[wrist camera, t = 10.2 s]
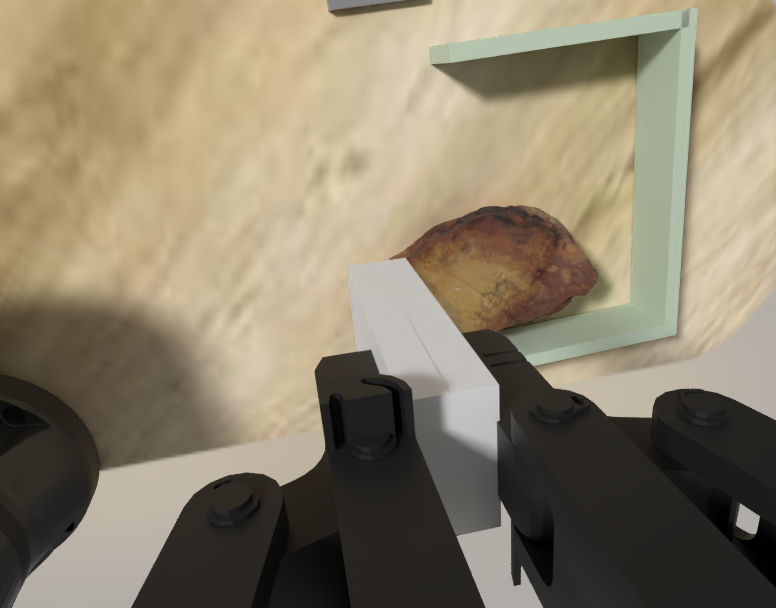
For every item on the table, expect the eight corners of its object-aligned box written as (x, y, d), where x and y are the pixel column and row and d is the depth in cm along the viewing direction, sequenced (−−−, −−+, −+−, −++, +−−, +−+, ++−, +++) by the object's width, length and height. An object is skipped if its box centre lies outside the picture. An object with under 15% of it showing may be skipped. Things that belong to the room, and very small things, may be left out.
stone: (405, 364, 45) (421, 398, 41) (348, 267, 42) (359, 291, 37) (573, 269, 45) (609, 292, 41) (531, 164, 42) (565, 174, 37)
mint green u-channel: (459, 350, 46) (477, 378, 42) (428, 47, 37) (448, 43, 33) (641, 312, 48) (676, 334, 43) (652, 14, 39) (697, 7, 35)
